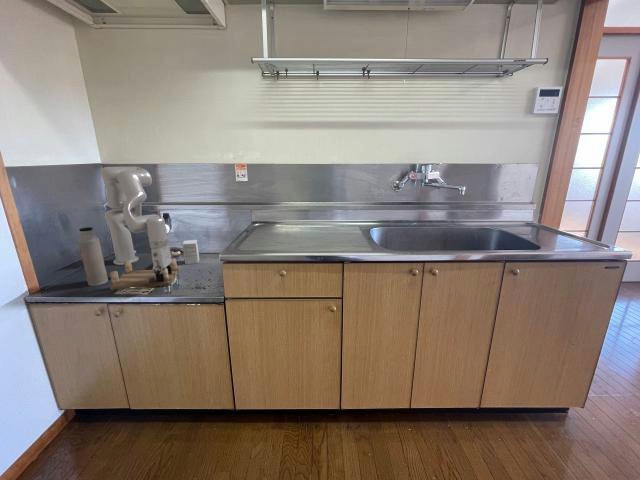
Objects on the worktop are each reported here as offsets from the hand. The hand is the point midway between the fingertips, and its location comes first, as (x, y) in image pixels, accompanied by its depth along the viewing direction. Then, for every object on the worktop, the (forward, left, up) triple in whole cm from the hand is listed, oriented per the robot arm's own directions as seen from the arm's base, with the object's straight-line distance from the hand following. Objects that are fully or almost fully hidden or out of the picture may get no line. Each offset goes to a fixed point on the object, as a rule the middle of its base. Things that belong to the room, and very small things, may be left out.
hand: (164, 277), depth 138 cm
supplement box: (-32, +5, -4) cm, 32 cm away
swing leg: (0, -3, -2) cm, 3 cm away
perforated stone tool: (-30, -10, -4) cm, 31 cm away
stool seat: (-8, -11, -4) cm, 14 cm away
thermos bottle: (-9, -34, -4) cm, 35 cm away
